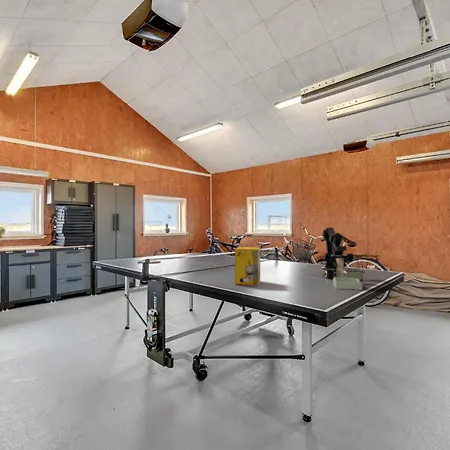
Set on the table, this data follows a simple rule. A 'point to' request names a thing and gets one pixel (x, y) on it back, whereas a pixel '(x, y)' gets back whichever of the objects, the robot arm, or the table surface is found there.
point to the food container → (355, 274)
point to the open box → (347, 283)
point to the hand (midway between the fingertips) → (340, 267)
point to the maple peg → (340, 267)
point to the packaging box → (247, 266)
